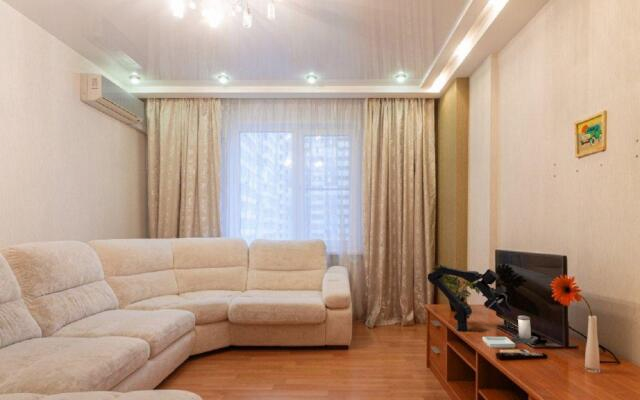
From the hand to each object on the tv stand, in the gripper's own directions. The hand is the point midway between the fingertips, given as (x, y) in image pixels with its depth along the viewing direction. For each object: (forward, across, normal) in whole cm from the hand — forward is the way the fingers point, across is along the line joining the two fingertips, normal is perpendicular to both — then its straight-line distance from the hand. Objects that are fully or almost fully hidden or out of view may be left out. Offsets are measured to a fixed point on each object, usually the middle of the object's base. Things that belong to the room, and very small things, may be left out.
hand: (507, 312), depth 207 cm
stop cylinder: (+15, 0, +4) cm, 16 cm away
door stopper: (+4, +26, +16) cm, 30 cm away
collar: (+15, 0, +4) cm, 16 cm away
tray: (+9, -13, +10) cm, 19 cm away
